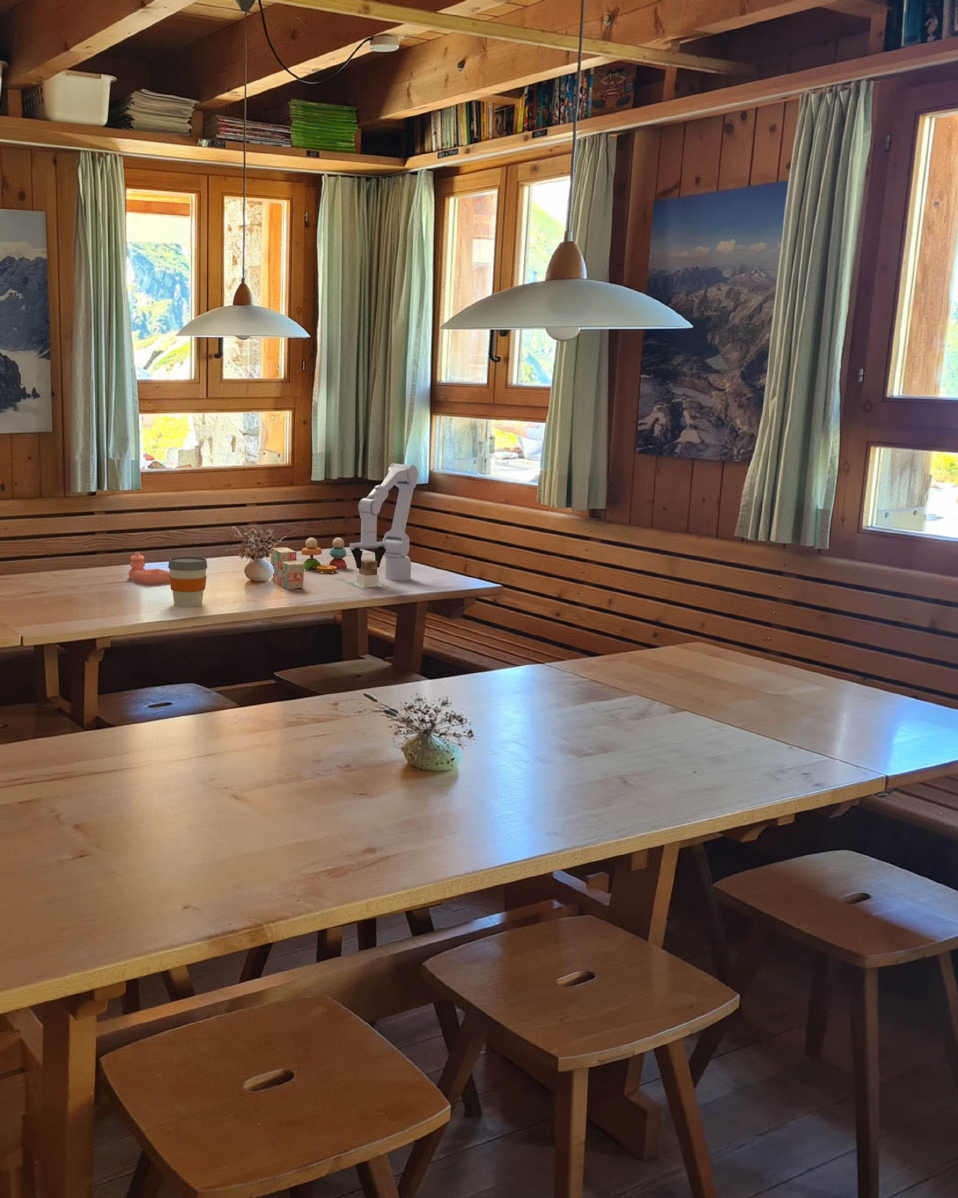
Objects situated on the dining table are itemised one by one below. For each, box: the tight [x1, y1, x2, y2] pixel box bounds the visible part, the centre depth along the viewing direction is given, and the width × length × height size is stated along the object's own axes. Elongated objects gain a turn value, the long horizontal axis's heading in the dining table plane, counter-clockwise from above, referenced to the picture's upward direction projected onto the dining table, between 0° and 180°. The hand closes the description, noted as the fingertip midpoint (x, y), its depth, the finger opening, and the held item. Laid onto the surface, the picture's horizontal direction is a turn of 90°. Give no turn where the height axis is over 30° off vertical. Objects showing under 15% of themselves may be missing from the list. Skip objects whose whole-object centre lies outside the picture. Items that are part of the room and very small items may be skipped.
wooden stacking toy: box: [301, 537, 348, 574], centre depth 467 cm, size 18×17×12 cm
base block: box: [356, 572, 380, 587], centre depth 436 cm, size 6×6×4 cm
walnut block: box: [358, 558, 378, 576], centre depth 435 cm, size 5×5×5 cm
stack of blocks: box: [270, 547, 305, 590], centre depth 433 cm, size 21×6×12 cm, turn 26°
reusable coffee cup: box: [167, 555, 208, 608], centre depth 390 cm, size 13×13×15 cm
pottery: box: [127, 551, 170, 587], centre depth 429 cm, size 18×10×10 cm, turn 47°
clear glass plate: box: [345, 581, 390, 590], centre depth 436 cm, size 12×14×1 cm
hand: (368, 567), depth 435 cm, fingers open, 7 cm apart
